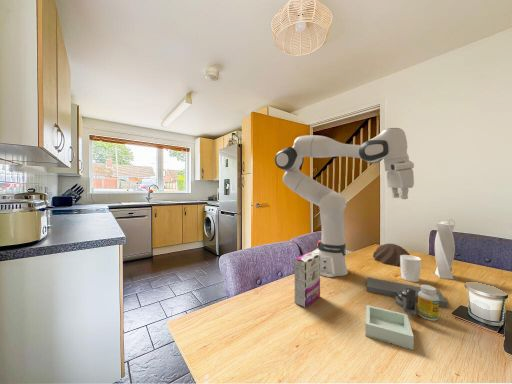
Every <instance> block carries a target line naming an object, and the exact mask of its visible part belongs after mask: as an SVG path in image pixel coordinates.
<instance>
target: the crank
mask: <svg viewBox="0 0 512 384" xmlns="http://www.w3.org/2000/svg"><path fill="white" fill-rule="evenodd" d="M397 297H398V299H400V300H401V301H402V304H403V307H402V308H403V310H404V312H405V313H407V314H412V315H417V306H416V307H415V298H416V290H414V289H412V288H406V291H399V292H398V293H397Z"/></svg>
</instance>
